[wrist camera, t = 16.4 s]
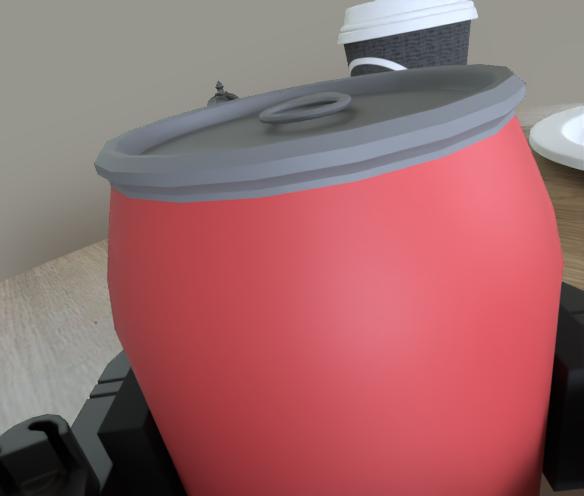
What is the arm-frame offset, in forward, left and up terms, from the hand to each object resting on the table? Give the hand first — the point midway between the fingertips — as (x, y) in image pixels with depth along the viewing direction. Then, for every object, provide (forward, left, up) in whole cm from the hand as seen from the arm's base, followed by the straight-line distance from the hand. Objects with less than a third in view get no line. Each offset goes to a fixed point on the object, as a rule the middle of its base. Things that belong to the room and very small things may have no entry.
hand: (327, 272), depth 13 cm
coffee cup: (+21, +12, -7) cm, 25 cm away
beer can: (-3, -4, -7) cm, 8 cm away
